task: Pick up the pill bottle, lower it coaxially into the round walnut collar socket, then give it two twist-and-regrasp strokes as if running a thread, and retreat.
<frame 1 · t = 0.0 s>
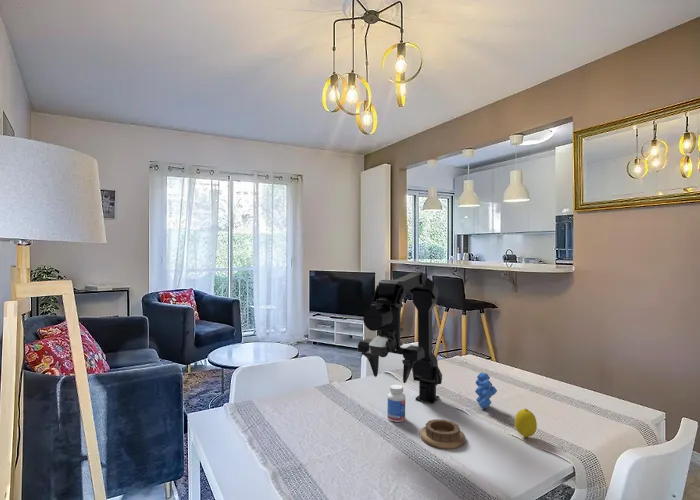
hand: (389, 379, 114), 15 cm above the table, fingers open, 9 cm apart
grapes: (486, 409, 130), on the table
pill bottle: (396, 419, 122), on the table
lemon: (525, 438, 110), on the table
socket: (442, 438, 110), on the table
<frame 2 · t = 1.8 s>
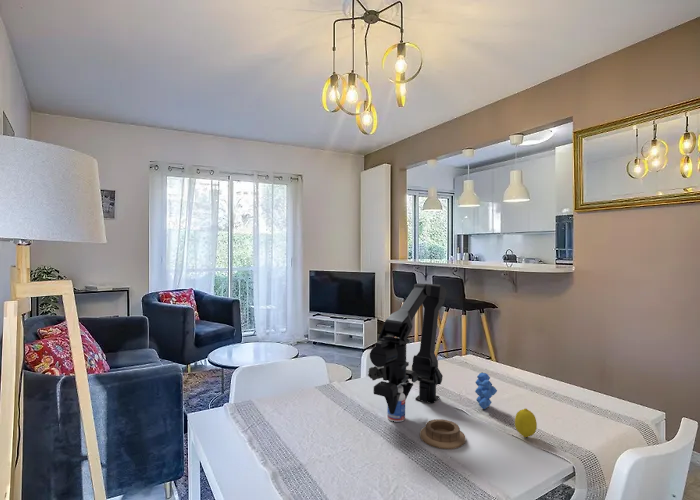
hand: (396, 410, 122), 3 cm above the table, fingers closed on pill bottle, 5 cm apart
pill bottle: (396, 419, 122), on the table, touching gripper
everything else where it was.
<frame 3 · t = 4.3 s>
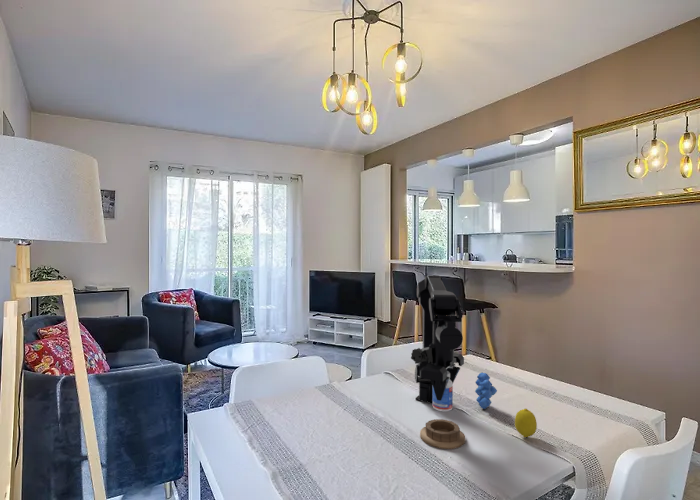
hand: (442, 396, 110), 11 cm above the table, fingers closed on pill bottle, 5 cm apart
pill bottle: (442, 408, 110), point 8 cm above the table, touching gripper
everything else where it was.
when the fingers open (4 cm above the table, at t = 5.9 s): pill bottle stays where it is, resting on socket.
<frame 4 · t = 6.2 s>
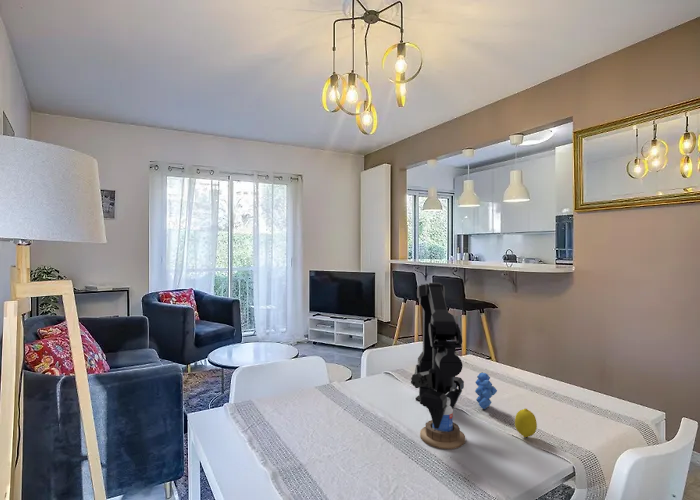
hand: (442, 421, 110), 4 cm above the table, fingers open, 9 cm apart
pill bottle: (442, 434, 110), point 1 cm above the table, touching socket
everything else where it was.
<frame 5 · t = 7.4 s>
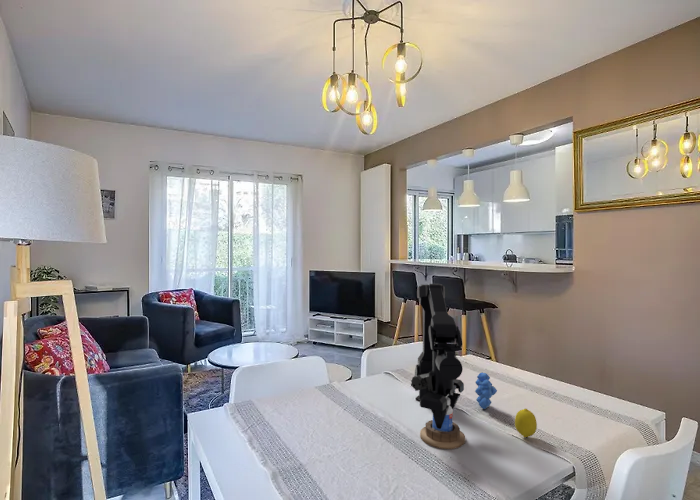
hand: (442, 424, 110), 4 cm above the table, fingers closed on pill bottle, 5 cm apart
pill bottle: (442, 434, 110), point 1 cm above the table, touching gripper, socket
everything else where it was.
when the fingers open (4 cm above the table, at t = 8.8 s): pill bottle stays where it is, resting on socket.
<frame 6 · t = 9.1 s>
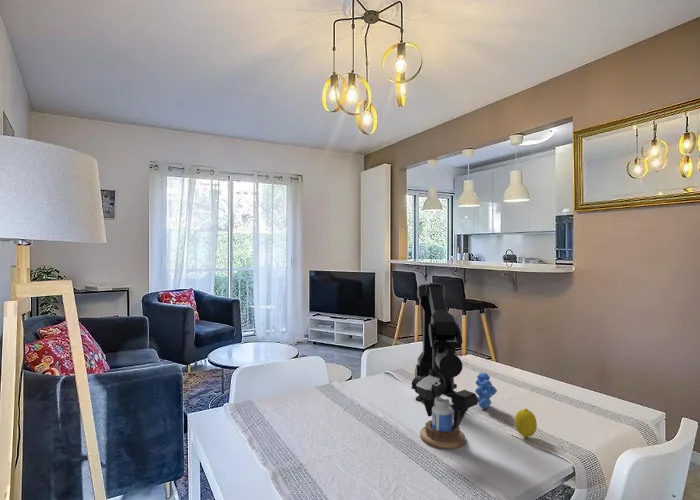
hand: (442, 422, 110), 4 cm above the table, fingers open, 9 cm apart
pill bottle: (441, 435, 110), point 1 cm above the table, touching socket
everything else where it was.
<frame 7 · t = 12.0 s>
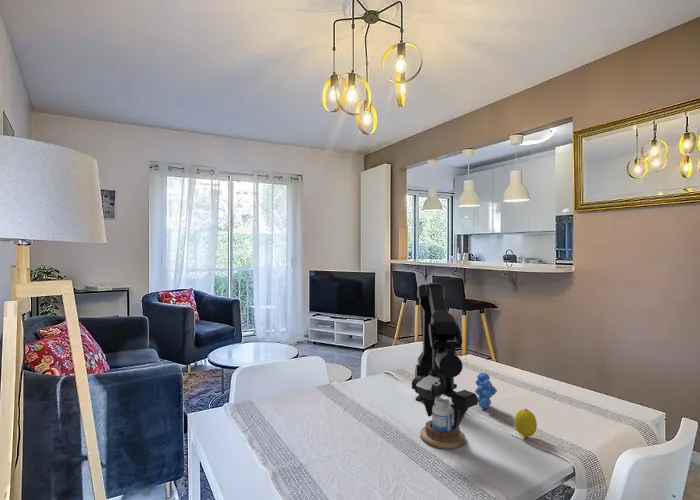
hand: (442, 422, 110), 4 cm above the table, fingers open, 9 cm apart
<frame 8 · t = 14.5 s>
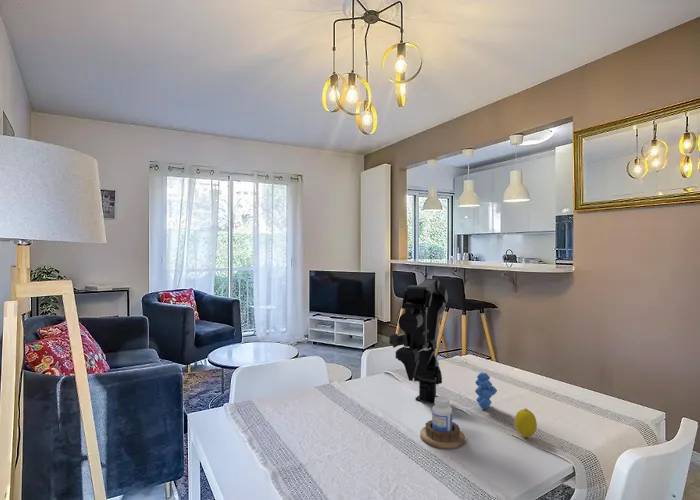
hand: (416, 376, 124), 12 cm above the table, fingers open, 9 cm apart
at the end: pill bottle 0.1 cm from the socket (horizontally); pill bottle point 0.8 cm above the table; pill bottle tilted 0° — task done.
